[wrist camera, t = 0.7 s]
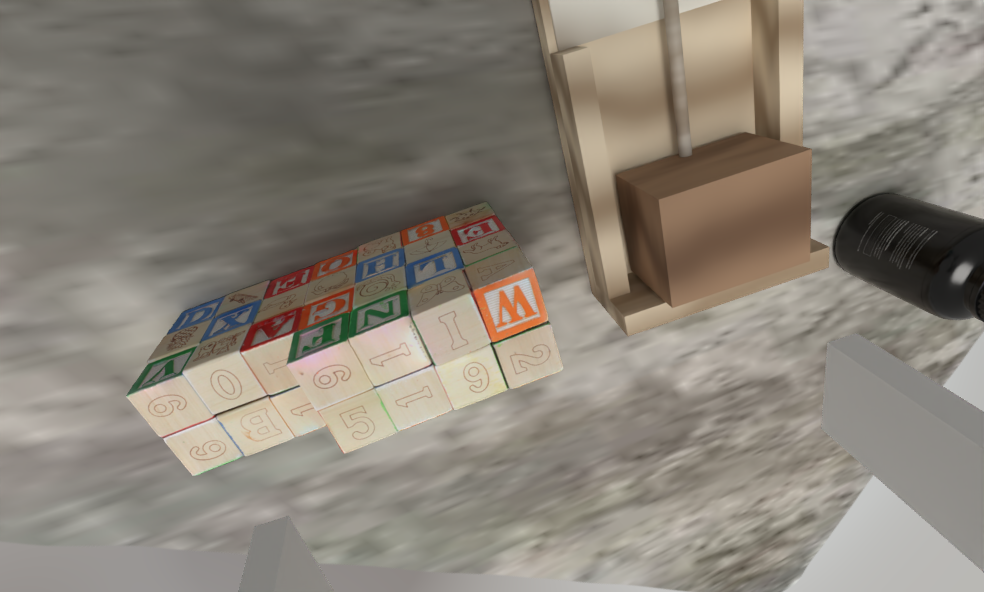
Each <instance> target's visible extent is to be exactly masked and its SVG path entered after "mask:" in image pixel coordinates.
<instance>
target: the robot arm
mask: <svg viewBox="0 0 984 592" xmlns="http://www.w3.org/2000/svg"><path fill="white" fill-rule="evenodd" d="M821 429H822V430H824V431H825V432H826V433H827V434H828V435H829V436H830V437H831V438H833V439H834V440H835V441H836V442H837V443H838V444H839V445H840V446H842V447H843V448H844V449H845V450H846V451H847V452H848V453H849V454H851V455H852V456H853V457H854V458H855V459H856V460H857V461H859V462H860V463H861V464H862V465H863V466H864V467H865V468H866V469H868V470H869V471H870V472H871V473H872V474H873V475H874V476H876V477H877V478H878V479H879V480H880V481H881V482H882V483H883V484H885V485H886V486H887V487H888V488H889V489H890V490H891V491H893V492H894V493H895V494H896V495H897V496H898V497H899V498H900V499H902V500H903V501H904V502H905V503H906V504H907V505H908V506H909V507H911V508H912V509H913V510H914V511H915V512H916V513H917V514H918V515H920V516H921V517H922V518H923V519H924V520H925V521H926V522H928V523H929V524H930V525H931V526H932V527H933V528H934V529H936V530H937V531H938V532H939V533H940V534H941V535H942V536H943V537H944V538H946V539H947V540H948V541H949V542H950V543H951V544H952V545H954V546H955V547H956V548H957V549H958V550H959V551H960V552H961V553H962V554H964V555H965V556H966V557H967V558H968V559H969V560H970V561H972V562H973V563H974V564H975V565H976V566H977V567H978V568H979V569H981V570H982V571H983V572H984V412H983V411H982V410H980V409H978V408H977V407H975V406H973V405H972V404H970V403H969V402H967V401H965V400H964V399H962V398H961V397H959V396H957V395H956V394H954V393H953V392H951V391H949V390H947V389H946V388H945V387H943V386H941V385H940V384H938V383H936V382H935V381H933V380H932V379H930V378H928V377H927V376H925V375H924V374H922V373H920V372H919V371H917V370H915V369H914V368H912V367H911V366H909V365H907V364H906V363H904V362H903V361H901V360H899V359H898V358H896V357H895V356H893V355H891V354H890V353H888V352H886V351H885V350H883V349H882V348H880V347H878V346H877V345H875V344H874V343H872V342H870V341H869V340H867V339H865V338H864V337H862V336H861V335H859V334H857V333H856V334H853V335H850V336H846V337H843V338H840V339H837V340H834V341H831V342H828V343H827V357H826V370H825V384H824V397H823V410H822V424H821ZM238 592H333V588H332V587H331V585H330V584H329V582H328V580H327V579H326V577H325V575H324V574H323V572H322V570H321V569H320V567H319V565H318V564H317V562H316V560H315V559H314V557H313V555H312V554H311V552H310V551H309V549H308V547H307V546H306V544H305V542H304V541H303V539H302V537H301V536H300V534H299V532H298V531H297V529H296V527H295V526H294V524H293V522H292V521H291V519H290V517H289V516H286V517H283V518H280V519H277V520H274V521H271V522H268V523H264V524H261V525H258V526H255V527H254V531H253V535H252V539H251V543H250V547H249V551H248V555H247V560H246V563H245V567H244V571H243V575H242V579H241V583H240V587H239V591H238Z"/></svg>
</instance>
